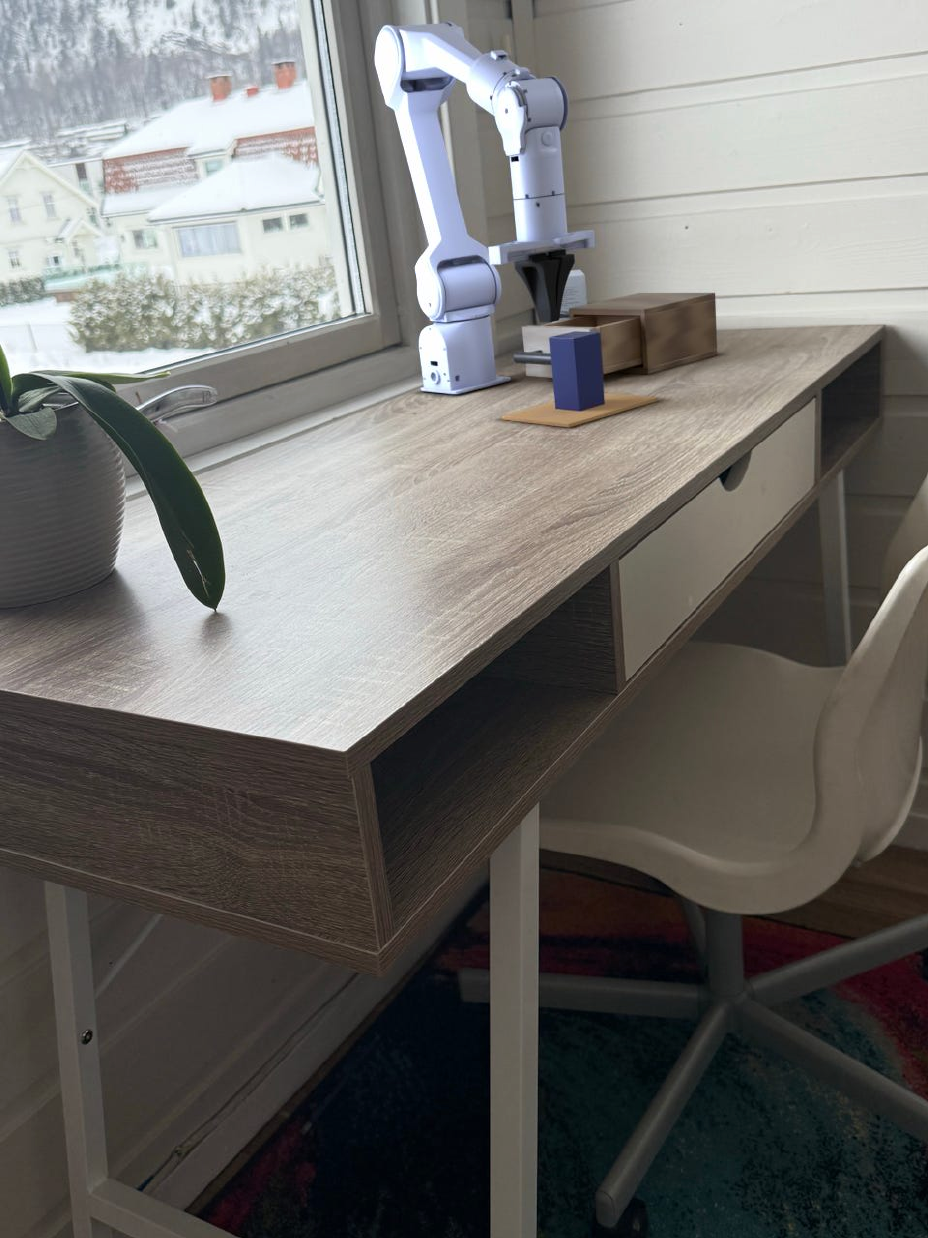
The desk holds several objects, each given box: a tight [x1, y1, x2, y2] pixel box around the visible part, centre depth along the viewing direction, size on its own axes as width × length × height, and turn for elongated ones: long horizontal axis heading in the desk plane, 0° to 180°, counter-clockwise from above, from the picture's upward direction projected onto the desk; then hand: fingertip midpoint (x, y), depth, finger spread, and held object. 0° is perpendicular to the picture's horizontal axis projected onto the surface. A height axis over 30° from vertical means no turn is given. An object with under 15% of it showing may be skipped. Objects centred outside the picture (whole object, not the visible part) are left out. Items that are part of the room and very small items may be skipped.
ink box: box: [554, 269, 588, 322], centre depth 164 cm, size 8×5×12 cm, turn 179°
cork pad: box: [501, 392, 659, 429], centre depth 129 cm, size 14×11×1 cm
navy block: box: [549, 331, 605, 411], centre depth 128 cm, size 4×4×8 cm
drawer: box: [513, 315, 643, 379], centre depth 147 cm, size 17×12×6 cm
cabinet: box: [569, 292, 718, 375], centre depth 153 cm, size 14×14×8 cm
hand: (549, 321), depth 133 cm, fingers closed
